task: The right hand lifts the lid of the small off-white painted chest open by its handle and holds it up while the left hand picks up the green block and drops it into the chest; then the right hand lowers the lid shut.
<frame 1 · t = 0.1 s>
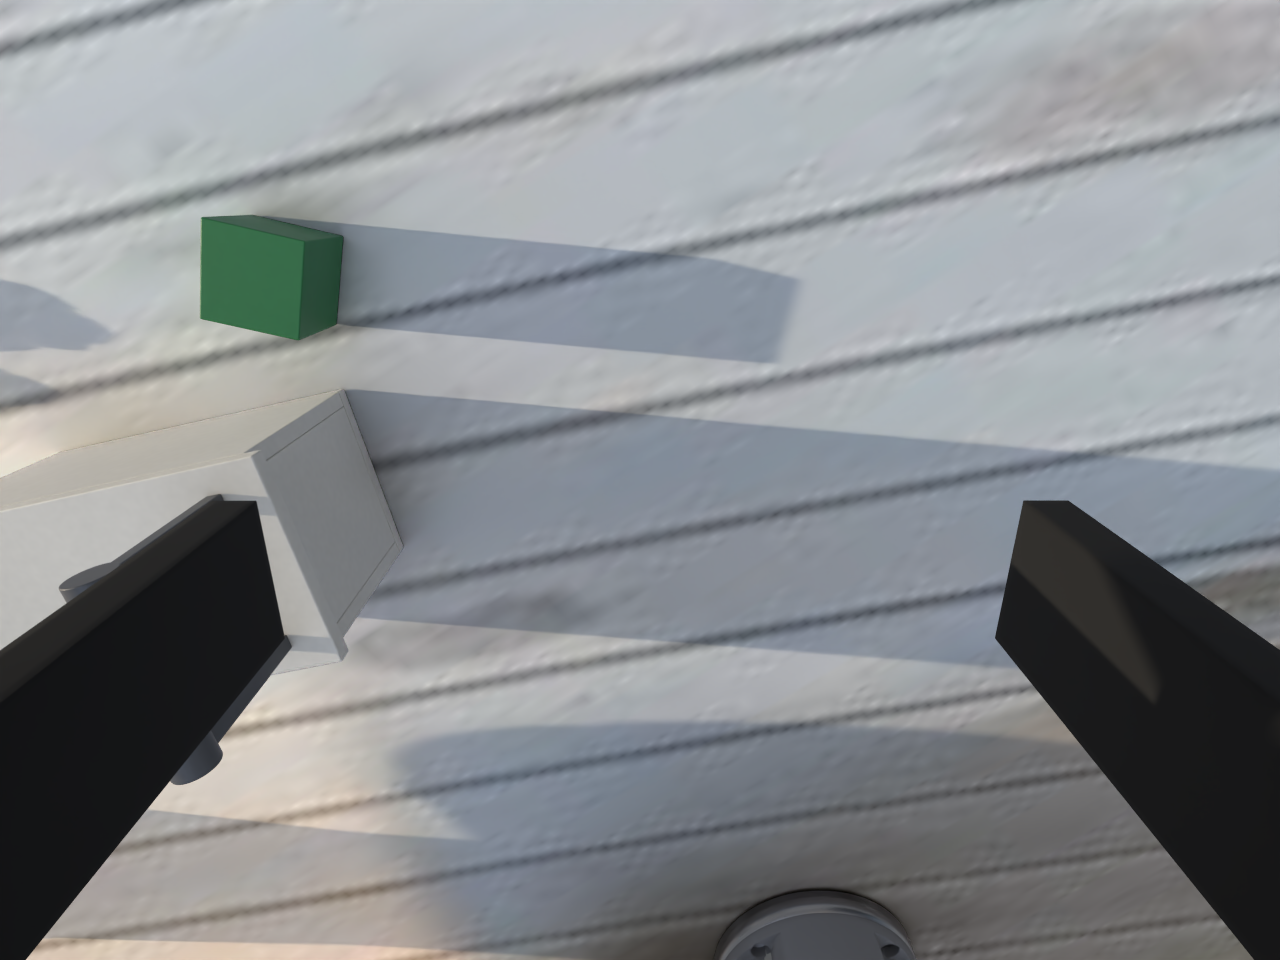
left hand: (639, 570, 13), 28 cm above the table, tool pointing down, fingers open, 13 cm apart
lid: (41, 652, 28), point 15 cm above the table, hinge at -0.1°
block: (295, 271, 38), on the table
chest: (236, 501, 43), on the table
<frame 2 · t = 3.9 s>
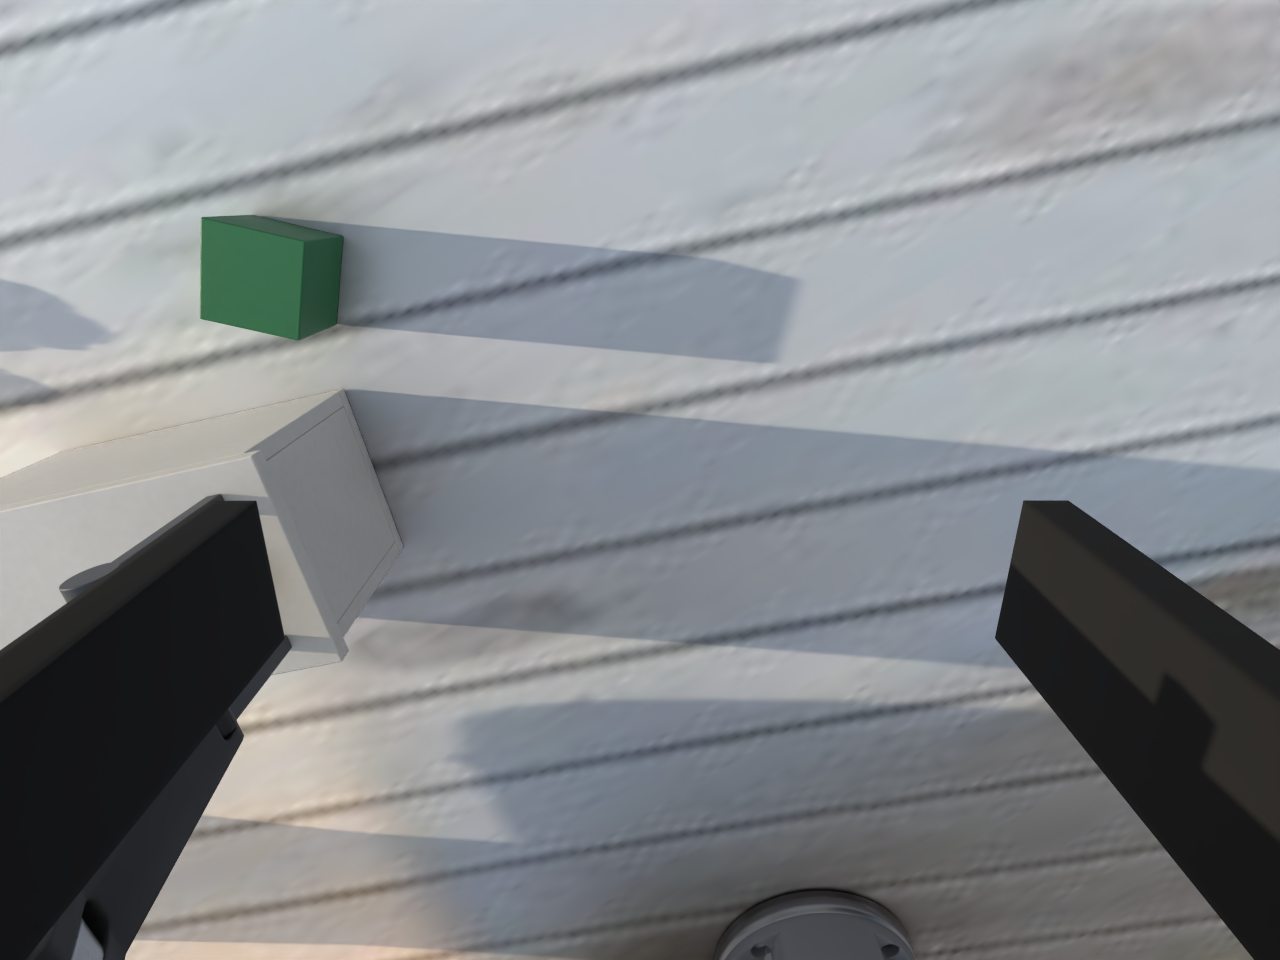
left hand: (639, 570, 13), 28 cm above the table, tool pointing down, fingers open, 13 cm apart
lid: (41, 652, 28), point 15 cm above the table, hinge at -0.1°, touching right hand
block: (295, 271, 38), on the table
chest: (236, 501, 43), on the table
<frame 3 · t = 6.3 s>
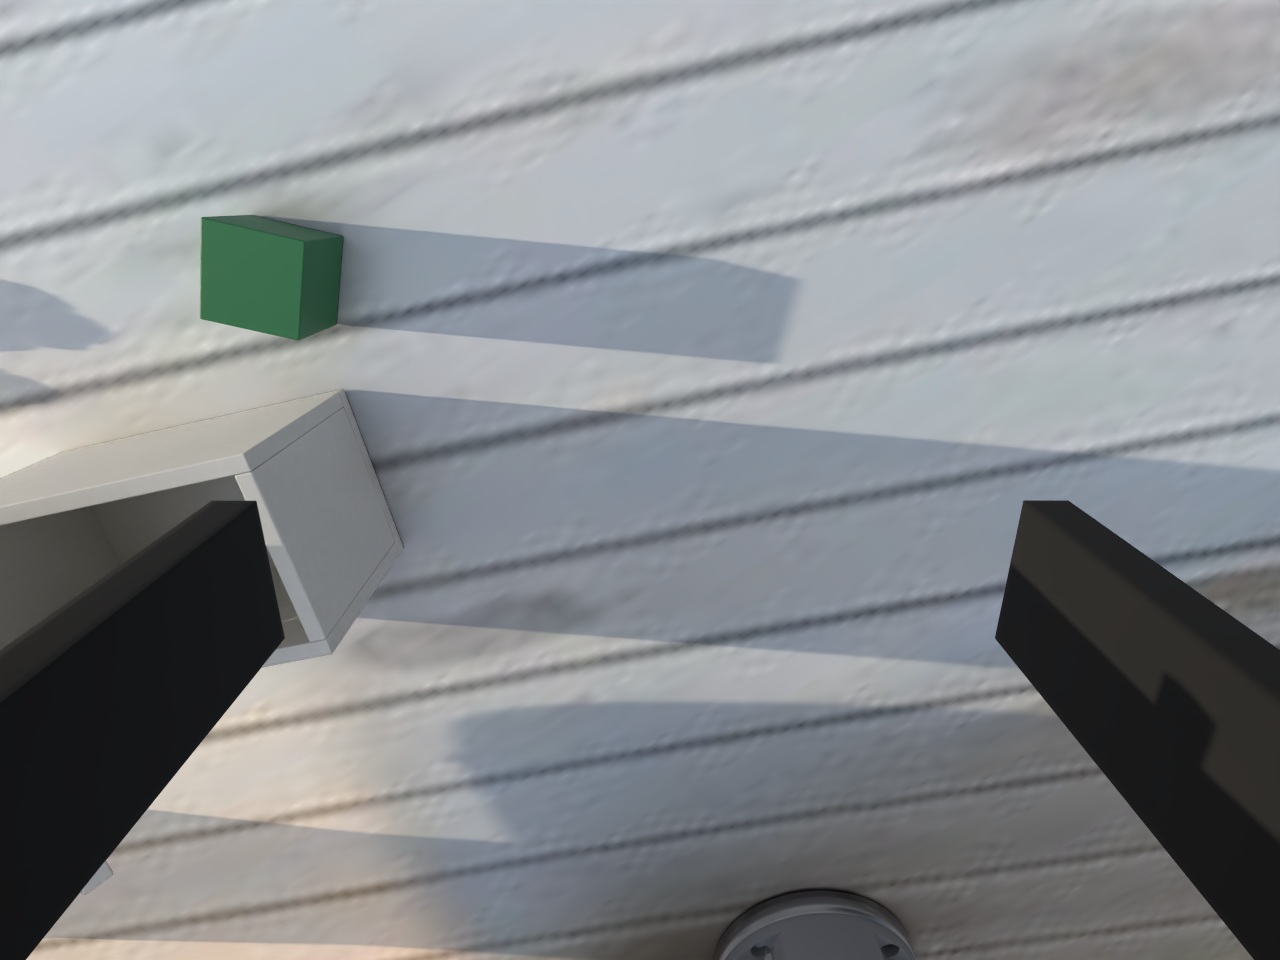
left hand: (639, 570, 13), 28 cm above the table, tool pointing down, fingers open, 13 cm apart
block: (295, 271, 38), on the table
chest: (236, 501, 43), on the table
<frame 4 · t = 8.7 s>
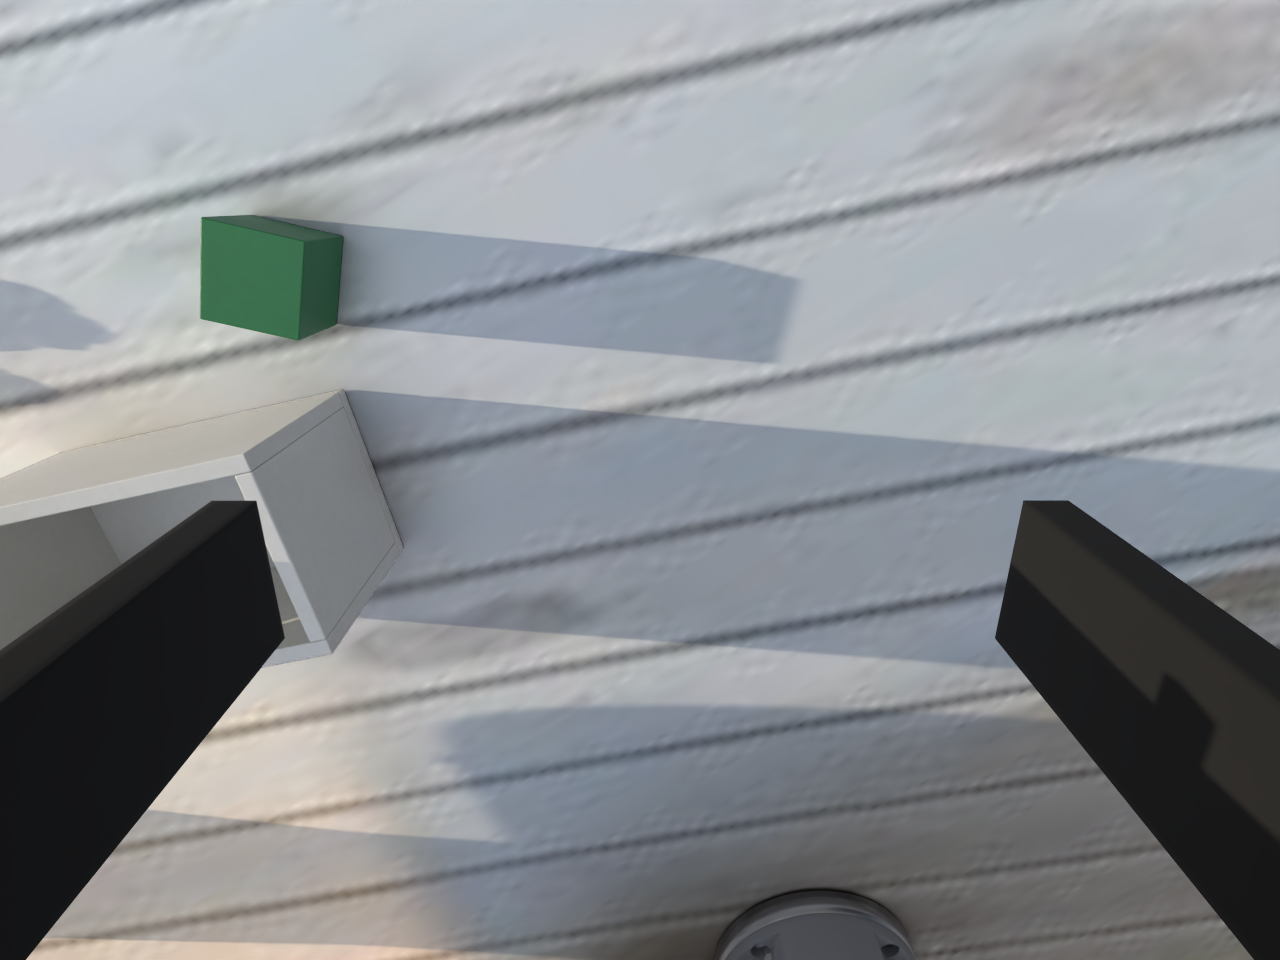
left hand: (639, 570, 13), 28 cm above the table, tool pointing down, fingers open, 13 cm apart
block: (295, 271, 38), on the table
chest: (236, 501, 43), on the table
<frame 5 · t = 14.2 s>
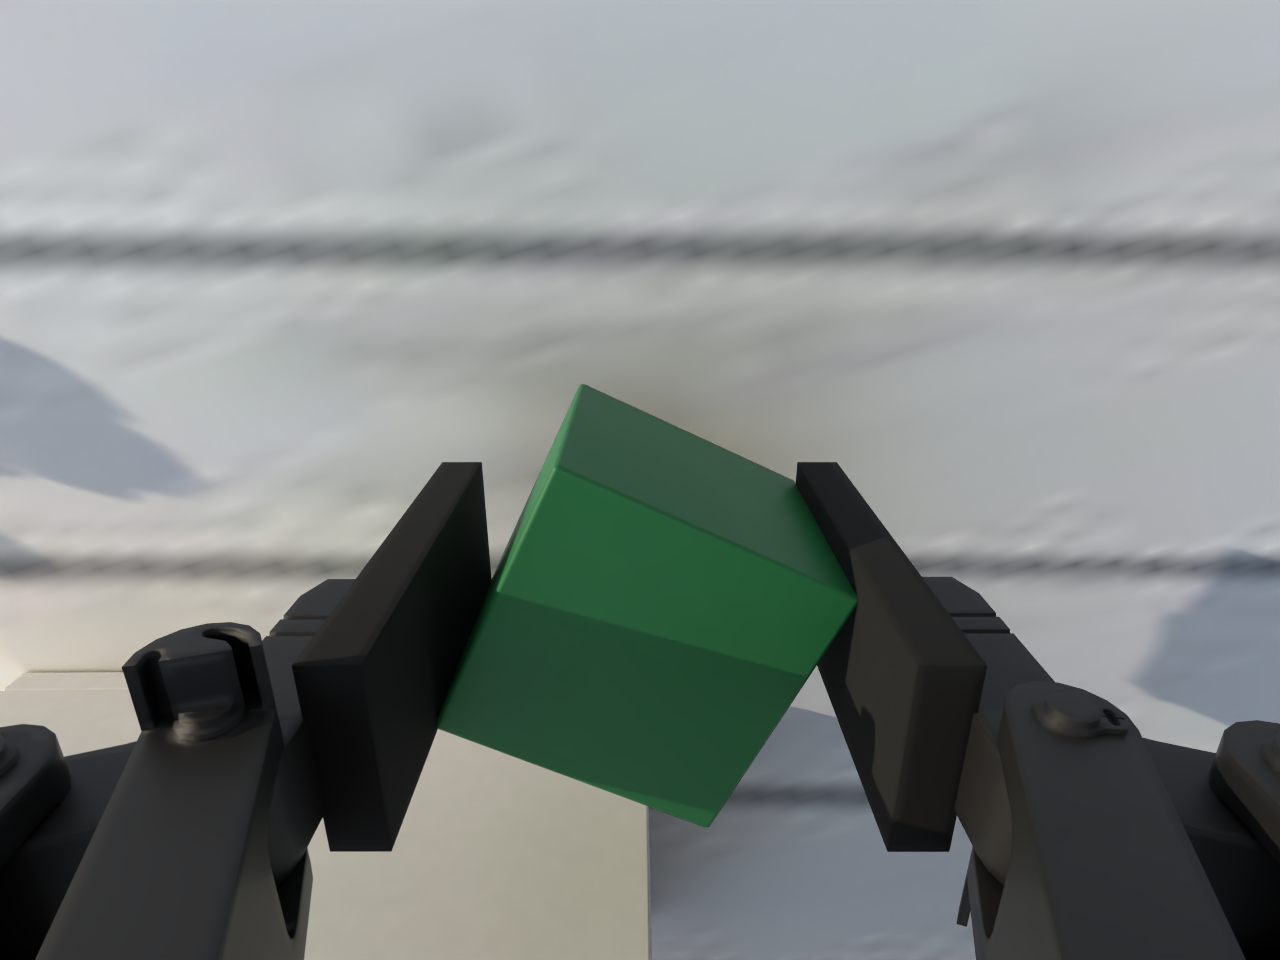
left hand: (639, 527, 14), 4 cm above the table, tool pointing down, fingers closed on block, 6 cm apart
block: (639, 531, 15), point 3 cm above the table, touching left hand
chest: (361, 806, 22), on the table
when the left hand's fingers open (18 cm above the table, at t = 17.3 s): block drops 17 cm, resting on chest.
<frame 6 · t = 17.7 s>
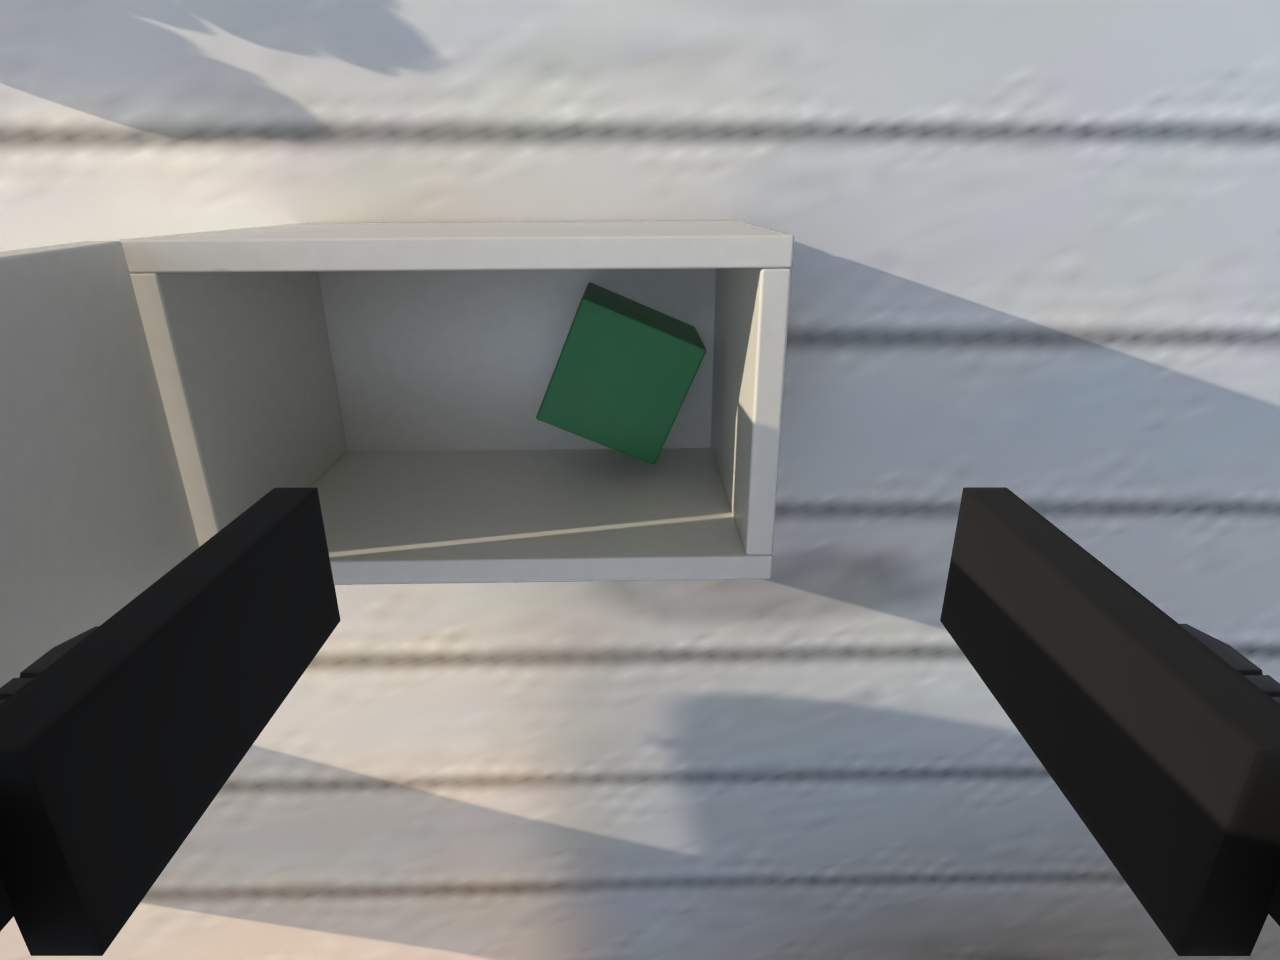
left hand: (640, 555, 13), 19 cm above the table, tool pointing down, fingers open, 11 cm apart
block: (621, 357, 30), point 1 cm above the table, touching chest
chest: (525, 348, 31), on the table, touching block
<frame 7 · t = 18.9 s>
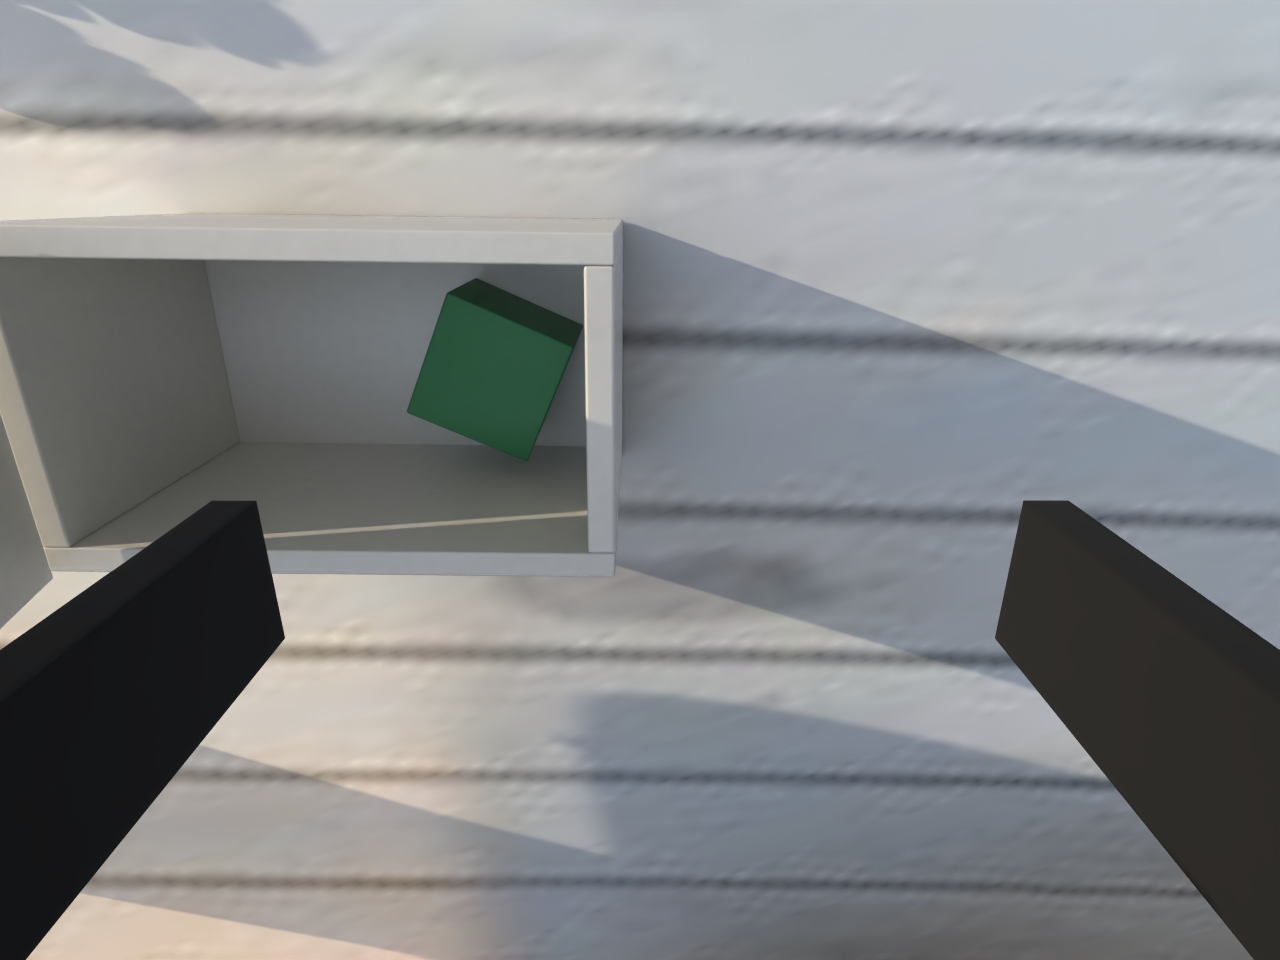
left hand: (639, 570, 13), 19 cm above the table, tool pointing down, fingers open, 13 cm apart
block: (510, 353, 30), point 1 cm above the table, touching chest
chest: (417, 343, 31), on the table, touching block
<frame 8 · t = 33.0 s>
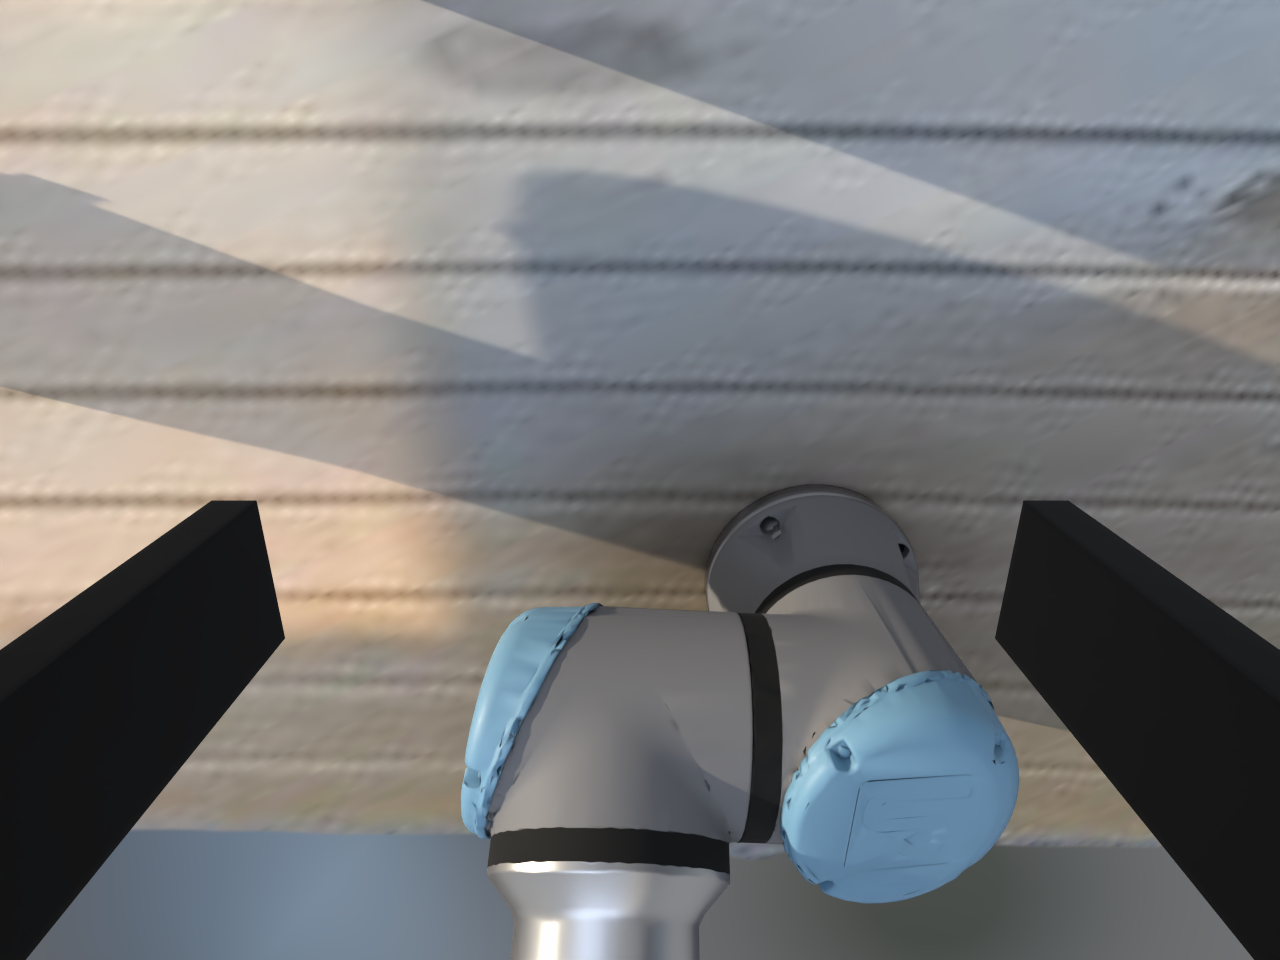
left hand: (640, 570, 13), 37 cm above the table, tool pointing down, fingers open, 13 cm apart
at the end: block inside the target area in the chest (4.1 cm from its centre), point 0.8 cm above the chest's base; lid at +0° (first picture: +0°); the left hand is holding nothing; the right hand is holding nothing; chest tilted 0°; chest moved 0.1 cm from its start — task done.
